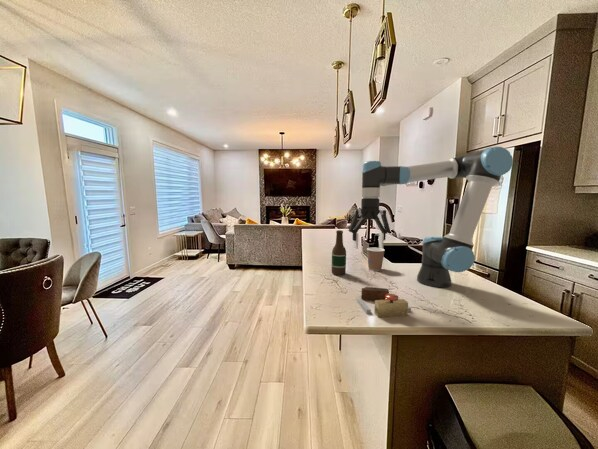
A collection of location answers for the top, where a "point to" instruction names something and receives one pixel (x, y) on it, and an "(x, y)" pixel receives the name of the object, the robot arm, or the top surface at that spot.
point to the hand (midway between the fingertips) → (368, 247)
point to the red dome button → (391, 306)
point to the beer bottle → (339, 255)
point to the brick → (374, 293)
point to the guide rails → (369, 308)
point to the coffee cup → (375, 258)
